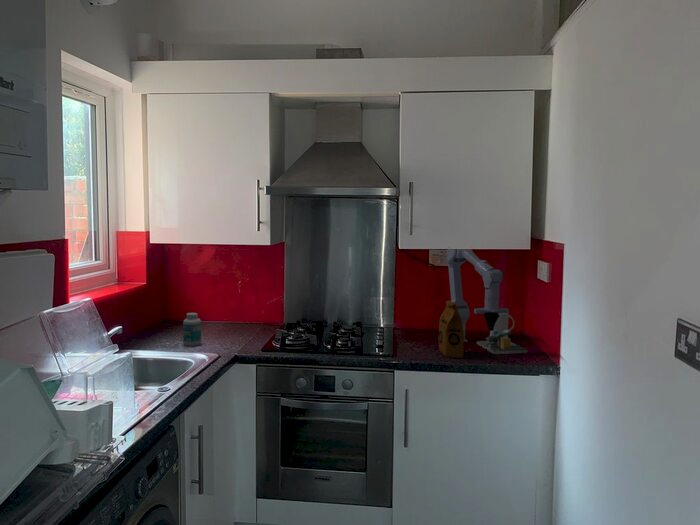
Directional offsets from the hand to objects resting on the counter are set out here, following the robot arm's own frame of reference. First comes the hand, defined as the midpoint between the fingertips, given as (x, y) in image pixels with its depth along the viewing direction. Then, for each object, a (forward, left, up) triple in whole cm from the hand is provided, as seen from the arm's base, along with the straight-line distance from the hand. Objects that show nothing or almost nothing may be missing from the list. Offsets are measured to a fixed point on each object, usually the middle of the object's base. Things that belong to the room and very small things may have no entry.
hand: (490, 330), depth 225 cm
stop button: (+4, +6, -6) cm, 10 cm away
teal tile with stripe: (+9, +12, -5) cm, 16 cm away
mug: (+18, +26, -10) cm, 33 cm away
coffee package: (-18, -1, -10) cm, 20 cm away
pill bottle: (-125, +28, -10) cm, 128 cm away
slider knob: (+7, 0, -8) cm, 11 cm away
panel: (+8, +6, -10) cm, 14 cm away
